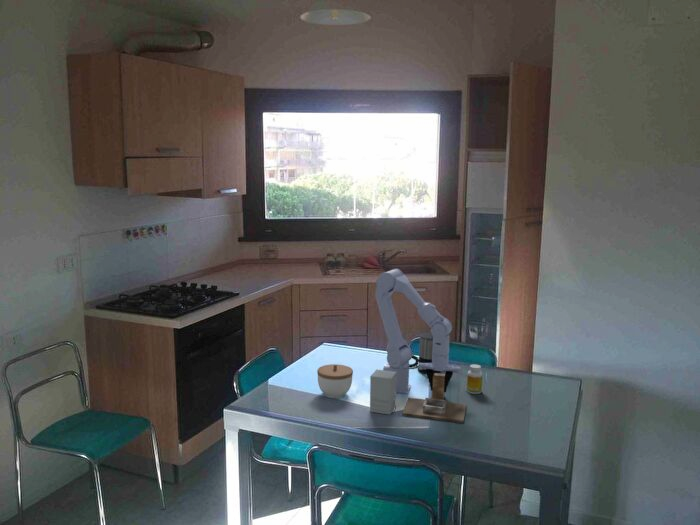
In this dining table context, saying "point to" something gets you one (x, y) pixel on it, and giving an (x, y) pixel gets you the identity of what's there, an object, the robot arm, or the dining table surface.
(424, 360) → the milk frother
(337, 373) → the lidded bowl
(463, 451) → the dining table surface
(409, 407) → the holder board
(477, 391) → the supplement bottle
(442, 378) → the brown wooden block
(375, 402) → the supplement box
